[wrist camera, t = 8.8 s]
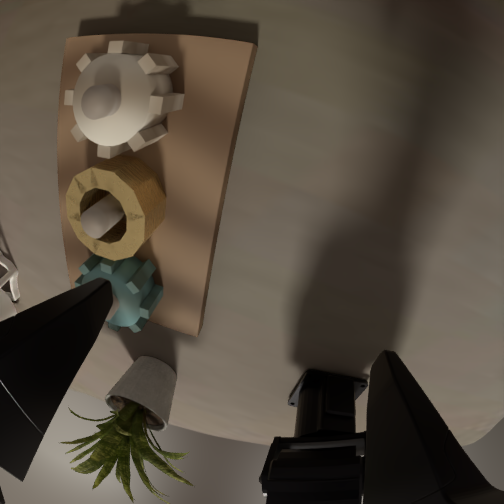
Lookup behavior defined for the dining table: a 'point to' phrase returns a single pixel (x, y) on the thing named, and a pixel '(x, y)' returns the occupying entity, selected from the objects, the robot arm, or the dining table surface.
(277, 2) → the dining table surface
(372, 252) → the dining table surface
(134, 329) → the gear board
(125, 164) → the hollow tan sleeve
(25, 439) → the robot arm
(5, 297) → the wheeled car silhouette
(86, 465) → the house plant
